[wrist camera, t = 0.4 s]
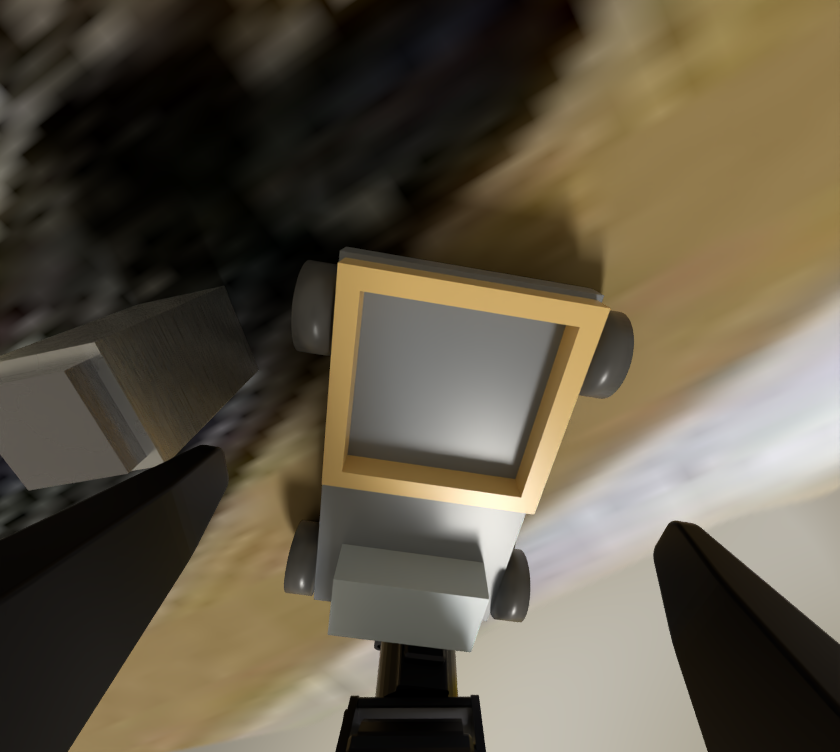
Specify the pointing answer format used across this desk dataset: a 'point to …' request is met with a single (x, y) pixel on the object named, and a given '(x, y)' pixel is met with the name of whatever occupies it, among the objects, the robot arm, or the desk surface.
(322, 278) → the truck
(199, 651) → the desk surface
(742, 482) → the desk surface
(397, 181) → the desk surface
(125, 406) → the grey block
